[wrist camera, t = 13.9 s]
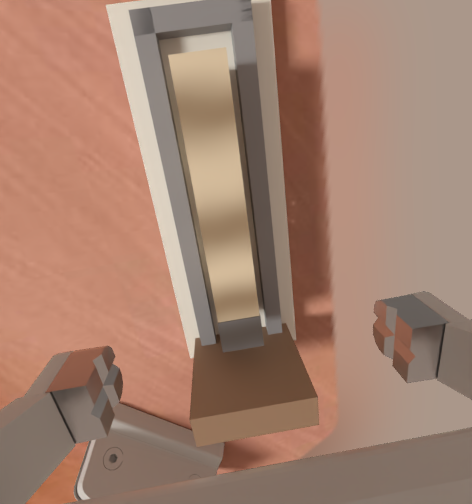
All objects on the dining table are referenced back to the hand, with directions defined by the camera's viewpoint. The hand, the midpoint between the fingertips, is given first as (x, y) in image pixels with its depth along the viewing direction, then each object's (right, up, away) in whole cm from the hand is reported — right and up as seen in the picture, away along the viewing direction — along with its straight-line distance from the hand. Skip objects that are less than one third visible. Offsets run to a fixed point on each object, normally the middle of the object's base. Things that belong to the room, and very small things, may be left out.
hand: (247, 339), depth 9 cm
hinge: (-11, -22, +30) cm, 38 cm away
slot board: (-2, +7, +19) cm, 20 cm away
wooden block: (-2, +7, +18) cm, 19 cm away
